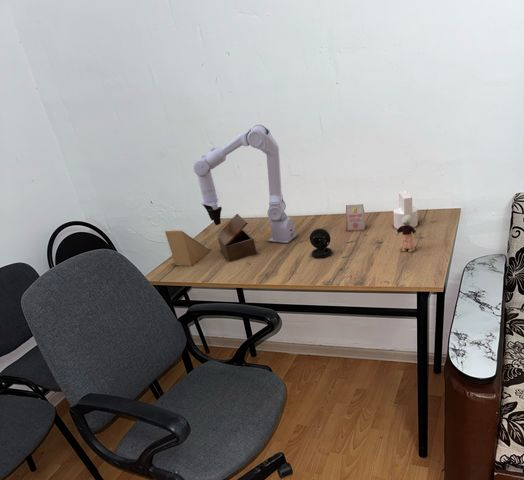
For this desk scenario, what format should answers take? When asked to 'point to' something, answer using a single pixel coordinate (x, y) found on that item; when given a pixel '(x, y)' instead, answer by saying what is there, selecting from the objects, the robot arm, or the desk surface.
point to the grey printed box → (355, 217)
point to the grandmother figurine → (407, 234)
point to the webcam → (320, 243)
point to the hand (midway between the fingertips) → (215, 222)
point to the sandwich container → (185, 248)
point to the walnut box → (238, 246)
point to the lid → (232, 229)
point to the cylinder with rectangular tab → (405, 210)
